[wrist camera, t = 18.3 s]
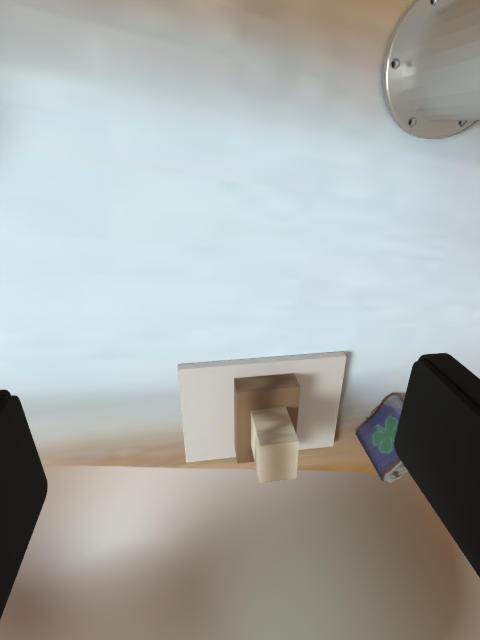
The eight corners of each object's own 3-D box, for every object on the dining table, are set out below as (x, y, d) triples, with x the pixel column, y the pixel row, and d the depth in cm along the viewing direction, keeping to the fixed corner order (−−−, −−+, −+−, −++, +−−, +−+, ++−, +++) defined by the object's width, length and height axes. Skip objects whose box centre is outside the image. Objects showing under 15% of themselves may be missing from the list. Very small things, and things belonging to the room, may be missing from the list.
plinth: (293, 373, 49) (300, 386, 46) (288, 441, 54) (294, 456, 51) (233, 378, 48) (236, 392, 45) (234, 446, 53) (237, 463, 50)
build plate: (343, 351, 50) (346, 356, 49) (330, 440, 57) (333, 446, 56) (177, 364, 47) (177, 369, 46) (186, 456, 54) (186, 462, 53)
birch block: (285, 406, 47) (298, 441, 42) (284, 441, 50) (296, 478, 45) (251, 410, 47) (259, 446, 41) (251, 445, 49) (259, 483, 44)
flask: (391, 389, 54) (435, 444, 45) (404, 397, 55) (450, 451, 46) (351, 433, 57) (385, 492, 48) (364, 439, 58) (400, 498, 49)
